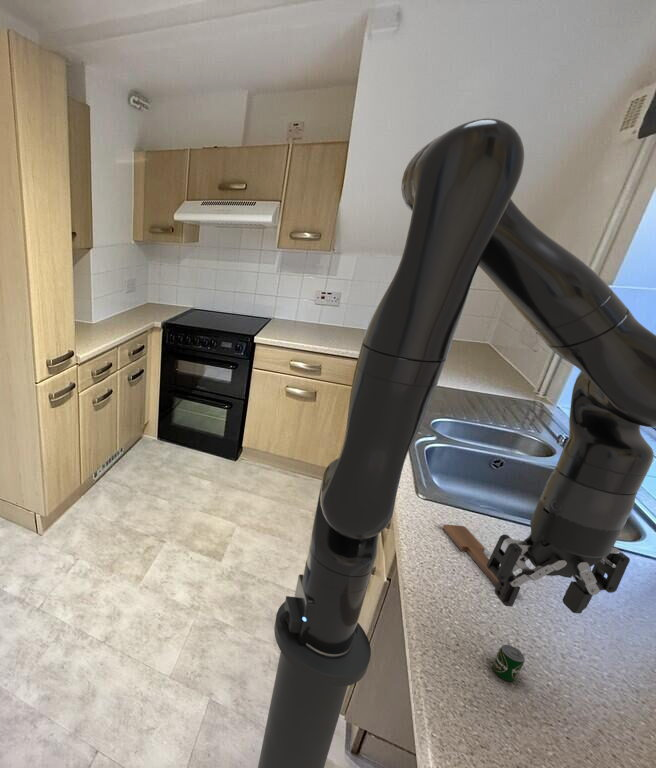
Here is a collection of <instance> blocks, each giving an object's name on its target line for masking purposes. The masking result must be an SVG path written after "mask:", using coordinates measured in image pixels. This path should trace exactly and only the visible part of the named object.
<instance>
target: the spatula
mask: <svg viewBox="0 0 656 768" xmlns="http://www.w3.org/2000/svg"><path fill="white" fill-rule="evenodd" d="M442 529H443V531H444V532H445V533H446V534H447V536H448V537H449V538H450V539H451V541H452V542H453V543H454V544H455V546H456V547H457V548H458V549H459V551H461V552H466V553H467V554H468V555H469V557H470V558H471V559H472V560H473V561H474V562H475V564H476V565H477V566H478V567H479V569H480V570H481V571H482V572H483V573H484V574H485V576H486V577H487V578H488V579H489V581H490V582H491V583H492V585H494V586H495V587H496V586H497V583H498V581H499V580H498V579H497V578H496V577H495V575H494V574H493V573H492V572H491V571H490V570H489V569H488V568H487V563H488V561H489V559H490V558H489V557H488V556H487V555H486V554H485V553H484V551H485V549H486V548H485V547H484V546H483V545H482V544H481V542H479V540H478V539H477V538H476V537H475V535H473V534H472V532H470V530H469V529H468V528H467V527H466V526H465V525H455V524H443V526H442Z"/></svg>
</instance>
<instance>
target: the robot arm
mask: <svg viewBox="0 0 656 768" xmlns="http://www.w3.org/2000/svg"><path fill="white" fill-rule="evenodd" d="M524 163H525V147H524V143H523V140H522V138H521V136H520V134H519V132H518V131H517V130H516V128H514V127H513V126H512V125H511V124H509V123H508V122H506V121H504V120H502V119H498V118H490V117H489V118H478V119H475V120H470V121H467V122H464V123H462V124H460V125H457V126H455V127H453V128H451V129H449V130H447V131H445V132H444V133H442V134H441V135H439V136H438V137H436V138H434V139H433V140H431V141H429V142H428V143H427V144H426V145H424V146H423V147H422V148H420V149H419V150H418V151H417V152H416V153H415V154H414V155H413V156H412V157H411V159H410V161H409V162H408V163H407V165H406V167H405V169H404V171H403V174H402V178H401V186H400V187H401V189H400V190H401V191H400V192H401V195H402V200H403V202H404V204H405V206H406V207H407V208H408V210H409V211H410V212H411V217H410V223H409V226H408V231H407V236H406V240H405V245H404V249H403V251H402V255H401V258H400V262H399V265H398V267H397V270H396V271H395V273H394V276H393V278H392V279H391V282H390V283H389V285H388V286H387V289H386V291H385V293H384V294H383V296H382V298H381V299H380V301H379V303H378V305H377V306H376V308H375V310H374V313H373V314H372V317H371V319H370V320H369V322H368V325H367V328H366V330H365V333H364V336H363V339H362V343H361V346H360V349H359V352H358V353H359V354H358V356H357V361H356V363H355V368H354V371H353V377H352V382H351V389H350V395H349V401H348V409H347V410H348V411H347V420H346V430H345V437H344V441H343V445H342V448H341V452H340V455H339V456H338V458H336V459H334V460H332V462H330V463H329V464H328V466H327V467H326V468H325V470H324V472H323V475H322V477H321V478H322V479H321V483H320V488H319V493H318V498H317V503H316V509H315V513H314V518H313V524H312V529H311V536H310V541H309V545H308V551H307V556H306V560H305V566H304V570H303V574H300V573H299V575H298V577H297V581H296V586H295V592H294V596H289V595H286V596H285V600H284V602H285V605H284V608H285V612H284V613H282V614H281V615H280V618H279V620H280V623H281V624H282V626H283V627H284V628H287V627H288V626H289V631H290V632H294V633H295V634H296V639H297V643H298V645H299V646H304V647H306V648H308V649H309V650H310V651H312V652H313V653H315V654H317V655H319V656H322V657H325V658H331V659H337V658H342V657H344V656H346V655H347V654H348V653H349V652H350V650H351V647H352V643H353V638H354V634H355V631H356V634H357V630H358V627H357V623H359V620H360V615H361V613H362V609H363V605H364V601H365V597H366V594H367V590H368V587H369V583H370V580H371V576H372V574H373V570H374V566H375V561H376V560H377V553H378V545H379V544H378V543H379V535H380V533H382V532H383V531H384V530H385V529H386V528H387V527H388V525H389V524H390V523H391V521H392V519H393V516H394V510H395V504H396V499H397V494H398V490H399V486H400V481H401V477H402V473H403V469H404V465H405V461H406V458H407V456H408V454H409V451H410V449H411V447H412V444H413V442H414V441H415V438H416V435H417V433H418V432H419V429H420V427H421V424H422V422H423V420H424V417H425V415H426V412H427V411H428V407H429V405H430V402H431V400H432V397H433V395H434V393H435V391H436V389H437V387H438V384H439V381H440V377H441V376H442V372H443V370H444V367H445V364H446V361H447V359H448V356H449V353H450V351H451V346H452V343H453V340H454V336H455V334H456V331H457V329H458V325H459V323H460V320H461V318H462V315H463V311H464V309H465V305H466V303H467V299H468V296H469V292H470V289H471V286H472V283H473V280H474V277H475V274H476V272H477V270H478V268H480V269H481V270H482V272H484V273H485V274H486V276H487V277H488V278H489V279H490V280H491V281H492V282H493V283H494V284H495V286H496V287H497V288H498V290H500V292H501V293H502V294H503V295H504V297H505V298H506V299H507V300H508V301H509V302H510V303H511V305H512V306H513V307H514V308H515V310H516V311H517V312H518V313H519V315H521V317H522V318H523V319H524V320H525V321H526V322H527V323H528V324H529V325H530V327H531V328H532V329H533V331H535V333H536V334H537V335H538V336H539V337H540V338H541V340H543V342H544V343H545V344H546V346H547V347H549V349H550V350H551V351H552V352H553V353H555V354H556V355H557V356H558V357H560V358H561V359H563V360H564V361H566V362H567V363H569V364H571V365H573V366H574V367H576V368H577V369H578V370H580V371H579V372H578V374H577V377H576V378H575V382H574V384H573V388H572V393H571V400H570V408H569V409H570V410H569V420H568V428H569V429H568V438H567V440H566V442H565V444H564V446H563V449H562V451H561V454H560V456H559V458H558V461H557V464H556V466H555V467H554V469H553V471H552V472H551V474H550V475H549V477H548V478H547V481H546V482H545V484H544V486H543V489H542V492H541V494H540V496H539V499H538V501H537V504H536V506H535V509H534V511H533V514H532V516H531V518H530V521H529V526H530V534H529V535H528V536H527V537H526V538H525V539H524V540H518V539H513V538H512V537H510V536H509V535H508V534H502V535H500V536H499V537H498V540H497V542H496V544H495V546H494V547H493V550H492V552H491V554H490V556H489V558H488V559H489V561H488V563H487V568H488V569H489V570H490V571H491V572H492V573H493V574H494V575H495V577H496V578H497V579H498V580H499V581H498V583H497V586H495V589H494V594H495V596H496V597H497V598H498V600H499V601H500V602H501V603H502V605H504V606H505V607H514V604H515V602H516V600H517V597H518V595H519V592H520V590H521V587H520V586H522V585H523V584H525V583H527V582H529V581H535V582H536V581H538V580H540V579H542V578H543V577H545V576H549V577H555V576H559V577H563V578H570V579H571V578H573V580H571V581H570V583H569V585H568V587H567V589H566V591H565V594H564V595H563V597H562V604H563V605H564V606H565V607H566V608H567V609H568V610H569V611H570V612H571V613H573V614H579V615H580V614H582V613H583V611H584V610H585V609H587V608H588V605H589V603H590V602H591V600H592V598H593V596H596V595H598V594H599V593H600V592H601V591H606V592H607V593H610V594H612V593H615V592H617V590H618V589H619V586H620V583H621V582H622V579H623V577H624V574H625V572H626V570H627V568H628V566H629V563H630V562H631V559H630V557H629V556H627V555H626V554H625V553H623V552H622V551H621V550H619V548H617V547H616V546H615V544H616V542H617V541H618V538H619V537H620V535H621V532H622V531H623V529H624V527H625V525H626V523H627V520H628V519H629V517H630V516H631V513H632V511H633V509H634V505H635V502H636V498H637V497H636V496H637V495H638V492H639V490H640V488H641V486H642V485H643V483H644V480H645V478H646V476H647V475H648V473H649V470H650V468H651V466H652V465H653V461H654V459H655V451H654V450H653V448H652V447H651V444H649V442H647V440H646V439H645V438H644V436H643V435H642V433H641V427H644V428H645V427H646V428H653V429H654V428H656V334H655V333H654V332H652V331H650V329H648V328H647V327H645V326H644V325H643V324H642V323H640V322H639V321H638V320H637V318H636V317H635V316H634V315H633V313H632V312H631V310H630V309H629V308H628V307H627V306H626V305H625V304H624V302H623V300H622V299H620V297H619V296H618V295H617V294H616V293H615V291H614V290H613V289H612V288H611V287H610V285H608V283H606V281H604V280H603V279H602V277H600V276H599V274H598V273H596V272H595V270H593V269H592V268H591V267H590V266H589V265H588V264H586V262H584V261H583V260H581V259H580V258H579V257H577V255H575V254H574V253H572V252H571V251H569V250H568V249H566V248H565V247H564V246H563V245H561V244H559V243H558V242H557V241H555V239H552V237H550V236H548V235H547V234H546V233H545V232H544V231H542V230H541V229H540V228H539V227H537V226H536V225H535V223H533V222H532V221H531V220H530V219H529V218H528V217H527V216H526V215H525V214H524V213H523V212H522V211H521V209H520V208H519V207H518V206H517V205H516V203H515V202H514V201H513V199H512V197H513V195H514V193H515V191H516V189H517V186H518V184H519V182H520V179H521V176H522V173H523V168H524ZM528 560H529V561H530V563H531V564H532V565H533V567H535V568H530V567H529V566H528V565H527V564H526V562H527V561H528ZM591 567H592V568H591ZM518 570H521V572H519V573H517V574H516V575H515V574H514V573H515V572H516V571H518ZM605 576H607V577H605ZM286 618H287V622H288V624H287V622H286V621H285V619H286Z"/></svg>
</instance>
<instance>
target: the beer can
mask: <svg viewBox="0 0 656 768" xmlns="http://www.w3.org/2000/svg"><path fill="white" fill-rule="evenodd" d="M524 663H525V655H524V654H523V653H522V651H520V650H519V648H516V647H515V646H513V645H510V644H502V646H501V647H500V648H499V649H498V651H497V654H496V656H495V657H494V661H493V662H492V666H491V668H492V670H493V672H494V674H496V675H497V676H498V677H499V678H501V679H503V680H505V681H507V682H515V681H516V680H517V677H518V676H519V674H520V672H521V670H522V668H523V666H524Z"/></svg>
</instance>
